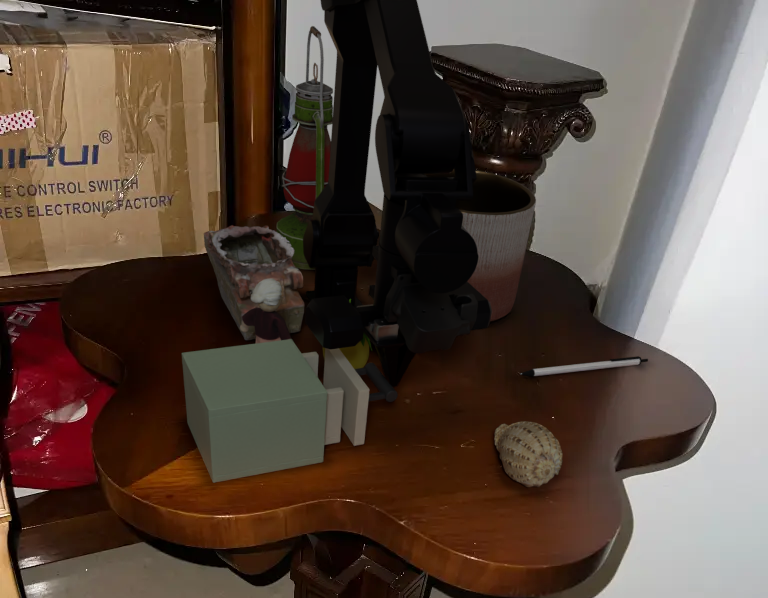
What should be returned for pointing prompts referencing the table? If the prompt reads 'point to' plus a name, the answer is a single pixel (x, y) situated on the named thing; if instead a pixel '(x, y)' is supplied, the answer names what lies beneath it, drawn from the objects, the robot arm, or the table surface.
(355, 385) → the drawer
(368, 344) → the lemon
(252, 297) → the grandmother figurine
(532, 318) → the table surface
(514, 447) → the seashell
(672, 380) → the table surface
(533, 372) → the pen
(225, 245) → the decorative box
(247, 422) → the cabinet
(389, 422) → the table surface
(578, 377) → the table surface
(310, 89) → the lantern
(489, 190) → the planter
